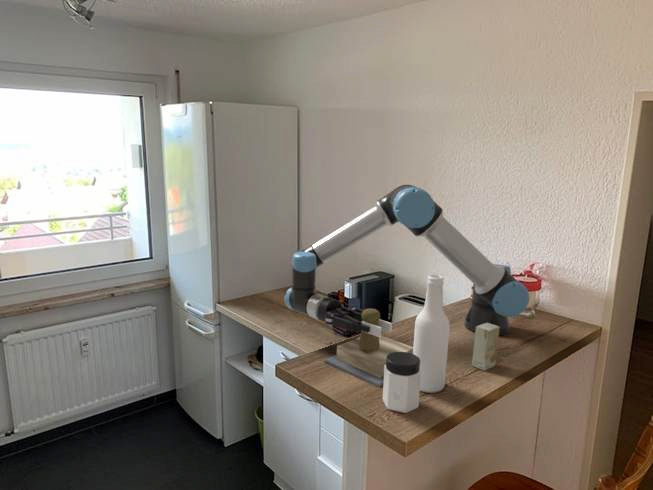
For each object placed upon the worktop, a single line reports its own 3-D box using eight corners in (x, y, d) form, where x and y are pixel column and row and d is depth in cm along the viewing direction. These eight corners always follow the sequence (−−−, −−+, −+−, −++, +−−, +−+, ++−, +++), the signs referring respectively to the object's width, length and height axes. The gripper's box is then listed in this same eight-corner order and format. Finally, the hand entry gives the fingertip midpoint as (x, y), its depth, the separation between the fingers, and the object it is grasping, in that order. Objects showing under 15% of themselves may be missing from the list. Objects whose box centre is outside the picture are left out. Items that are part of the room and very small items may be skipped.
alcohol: (409, 376, 136) (417, 271, 130) (442, 379, 135) (451, 273, 129) (411, 392, 127) (419, 280, 121) (446, 395, 126) (456, 282, 120)
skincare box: (484, 371, 141) (488, 330, 138) (471, 366, 144) (474, 326, 141) (496, 365, 145) (500, 326, 142) (483, 360, 148) (486, 321, 146)
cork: (363, 340, 145) (365, 305, 143) (382, 345, 142) (385, 308, 140) (355, 347, 140) (357, 310, 137) (375, 352, 137) (377, 314, 135)
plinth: (371, 342, 159) (372, 328, 158) (425, 362, 145) (426, 347, 144) (324, 362, 143) (324, 346, 142) (378, 386, 130) (379, 369, 129)
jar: (378, 407, 119) (380, 361, 117) (386, 392, 127) (389, 348, 124) (414, 416, 116) (418, 368, 114) (421, 400, 124) (424, 355, 121)
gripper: (343, 314, 159) (403, 335, 143) (304, 327, 146) (365, 351, 131) (344, 292, 157) (404, 310, 141) (305, 303, 145) (366, 324, 129)
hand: (385, 330), depth 136 cm, fingers closed on cork, 4 cm apart
